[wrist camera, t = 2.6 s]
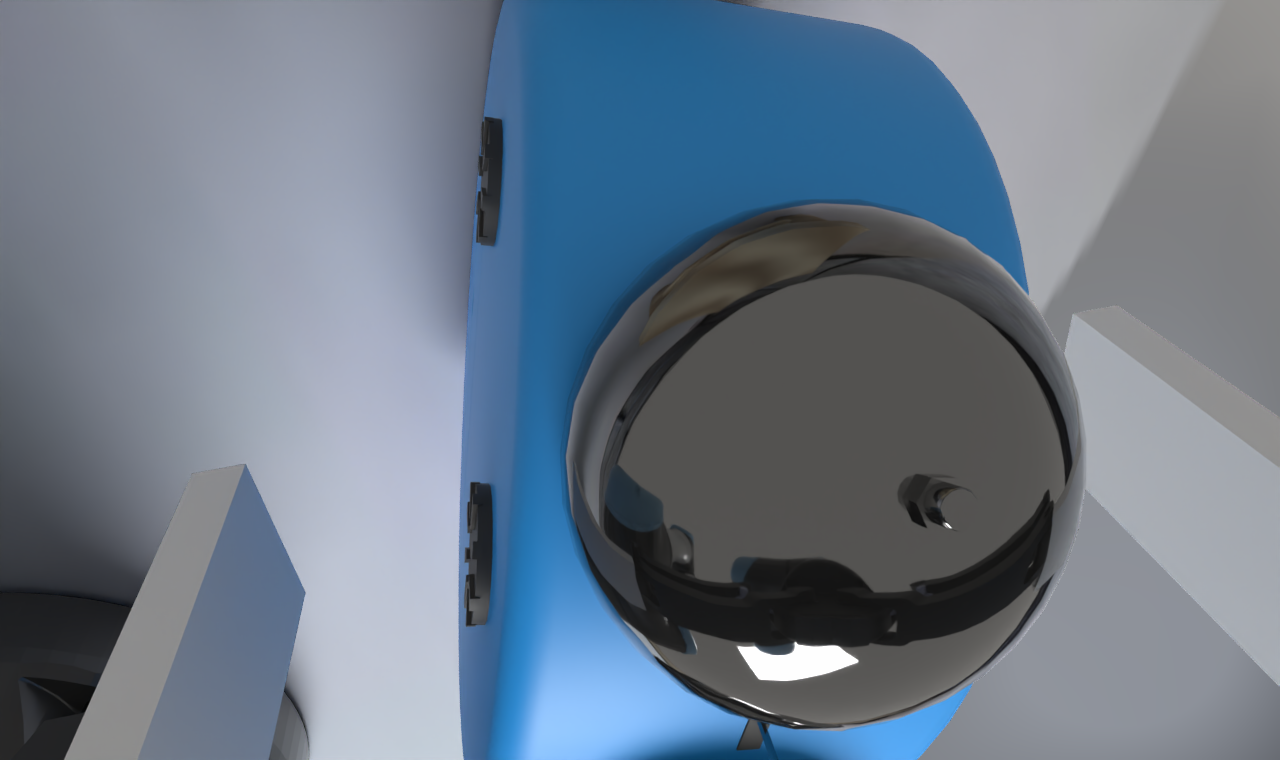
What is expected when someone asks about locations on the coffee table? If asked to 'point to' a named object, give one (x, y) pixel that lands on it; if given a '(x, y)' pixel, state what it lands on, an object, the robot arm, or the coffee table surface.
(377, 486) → the coffee table surface
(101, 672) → the robot arm
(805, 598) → the alarm clock
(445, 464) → the coffee table surface
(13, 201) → the coffee table surface
